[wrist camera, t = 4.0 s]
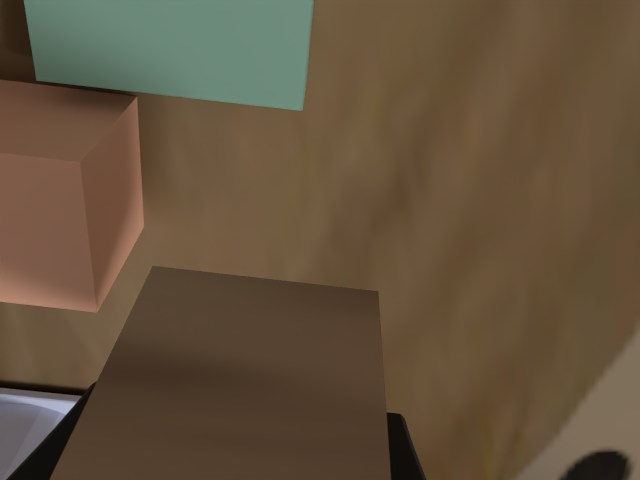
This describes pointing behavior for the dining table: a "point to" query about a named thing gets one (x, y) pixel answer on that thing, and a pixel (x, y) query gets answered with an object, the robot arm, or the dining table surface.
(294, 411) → the walnut brick
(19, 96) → the terracotta brick
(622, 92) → the dining table surface
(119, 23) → the base plate
